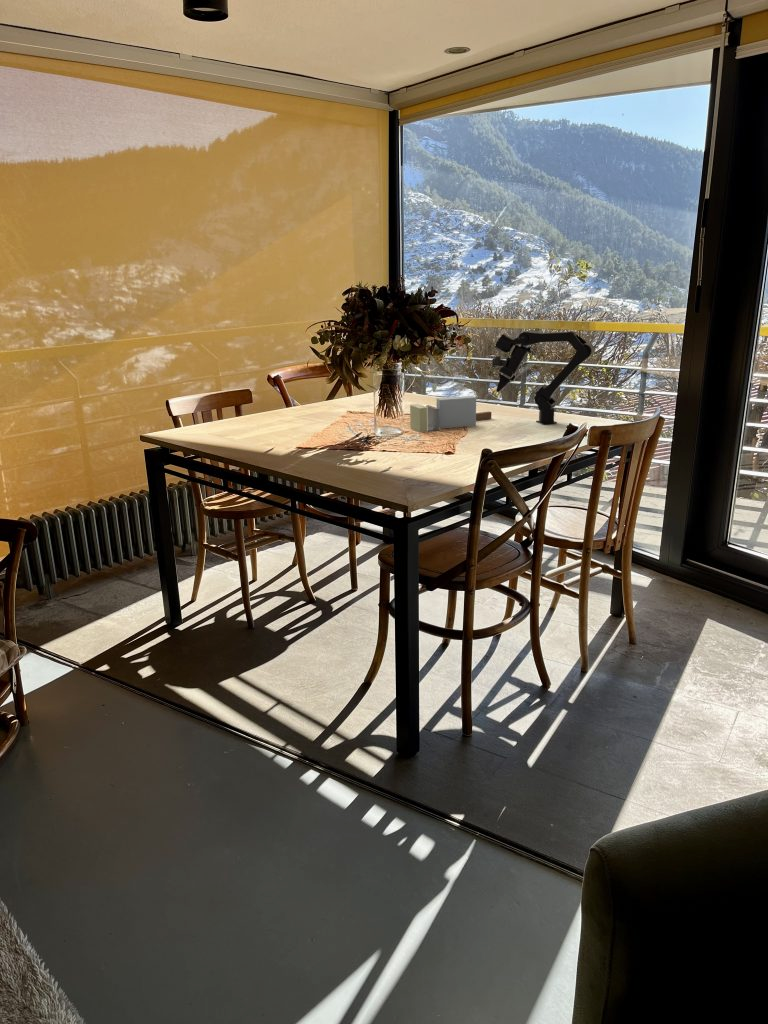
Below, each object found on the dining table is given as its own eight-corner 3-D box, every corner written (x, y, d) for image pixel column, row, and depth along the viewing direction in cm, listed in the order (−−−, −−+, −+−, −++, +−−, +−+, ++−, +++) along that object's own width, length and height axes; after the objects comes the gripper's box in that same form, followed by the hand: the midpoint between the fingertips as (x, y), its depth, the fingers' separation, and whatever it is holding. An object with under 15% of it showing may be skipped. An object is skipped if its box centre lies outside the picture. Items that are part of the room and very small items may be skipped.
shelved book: (428, 431, 319) (427, 407, 316) (419, 432, 318) (419, 407, 315) (418, 427, 327) (417, 403, 324) (410, 428, 326) (409, 404, 323)
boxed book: (472, 423, 333) (472, 395, 329) (475, 425, 328) (476, 397, 324) (436, 426, 329) (436, 398, 325) (439, 428, 325) (439, 400, 321)
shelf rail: (491, 418, 340) (491, 412, 339) (430, 426, 329) (430, 419, 328) (489, 417, 342) (489, 411, 341) (428, 425, 331) (428, 418, 330)
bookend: (438, 430, 321) (438, 408, 318) (424, 431, 319) (424, 410, 316) (429, 426, 329) (429, 405, 326) (415, 427, 327) (415, 406, 324)
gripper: (500, 353, 337) (482, 385, 340) (497, 346, 319) (478, 380, 321) (523, 365, 335) (505, 397, 338) (521, 359, 317) (501, 393, 320)
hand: (497, 391), depth 329 cm, fingers closed
